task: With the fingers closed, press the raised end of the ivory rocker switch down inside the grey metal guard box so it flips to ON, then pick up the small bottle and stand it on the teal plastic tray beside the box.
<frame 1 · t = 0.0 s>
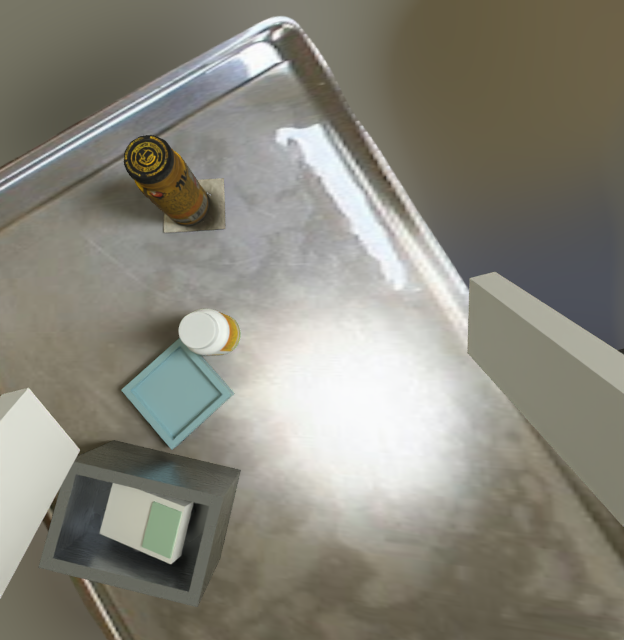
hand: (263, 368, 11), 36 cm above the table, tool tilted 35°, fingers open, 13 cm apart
rocker: (146, 517, 40), point 5 cm above the table, hinge at 13.0°
supplement bottle: (221, 334, 47), on the table
tray: (181, 391, 46), on the table
guard box: (166, 498, 45), on the table
condiment: (195, 206, 49), on the table
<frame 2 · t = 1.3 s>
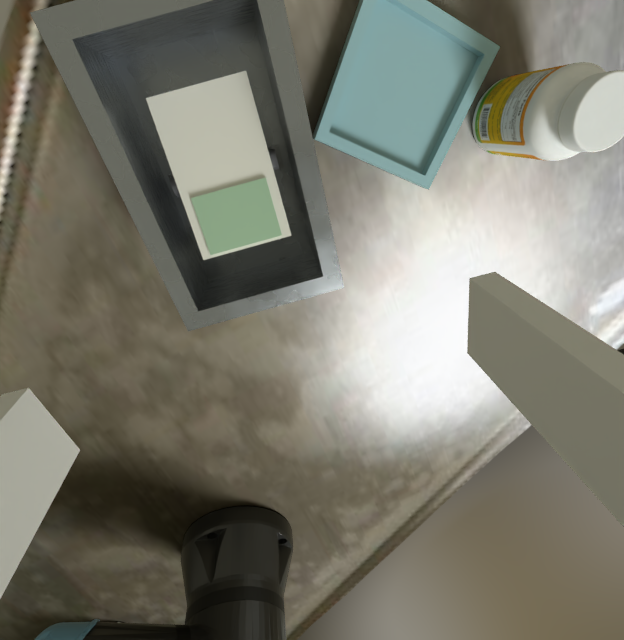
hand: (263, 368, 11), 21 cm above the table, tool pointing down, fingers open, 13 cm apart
rocker: (225, 172, 22), point 5 cm above the table, hinge at 13.0°
supplement bottle: (501, 117, 28), on the table
tray: (397, 95, 26), on the table
guard box: (230, 165, 27), on the table
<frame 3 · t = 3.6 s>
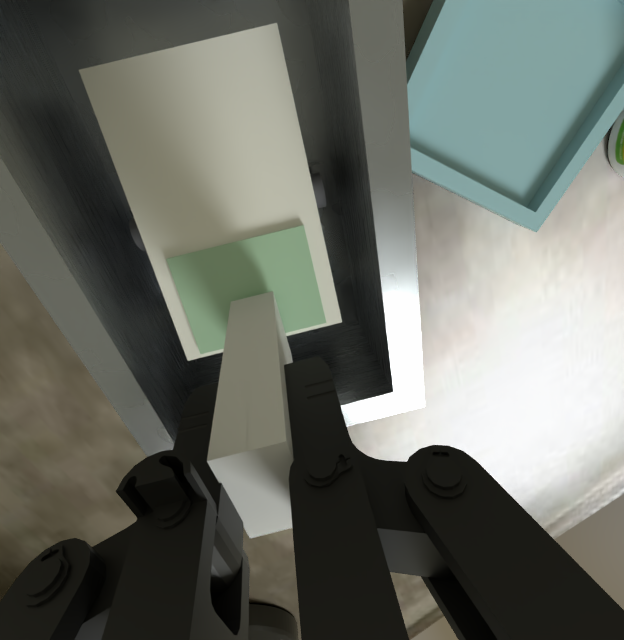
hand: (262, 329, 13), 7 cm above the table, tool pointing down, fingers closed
rocker: (230, 212, 13), point 5 cm above the table, hinge at 12.8°, touching gripper
tray: (506, 87, 17), on the table
guard box: (237, 188, 17), on the table
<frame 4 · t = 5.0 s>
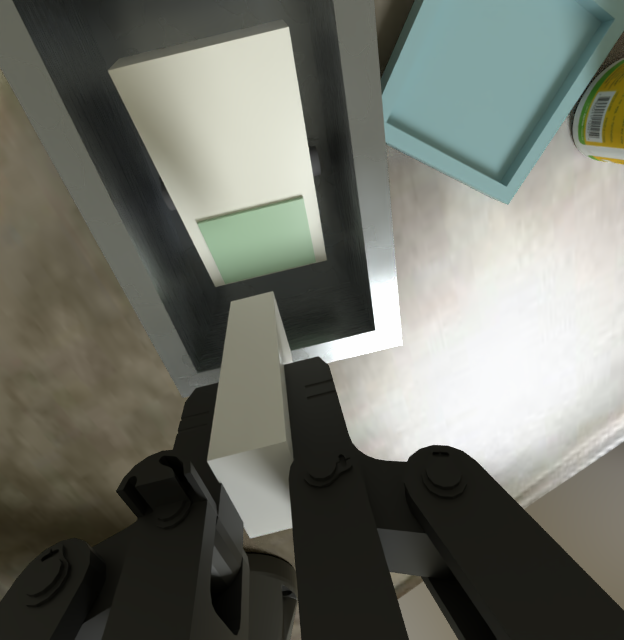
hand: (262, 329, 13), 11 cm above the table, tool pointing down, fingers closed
rocker: (242, 179, 15), point 5 cm above the table, hinge at -15.8°
supplement bottle: (611, 110, 21), on the table
tray: (480, 75, 19), on the table
guard box: (246, 163, 20), on the table
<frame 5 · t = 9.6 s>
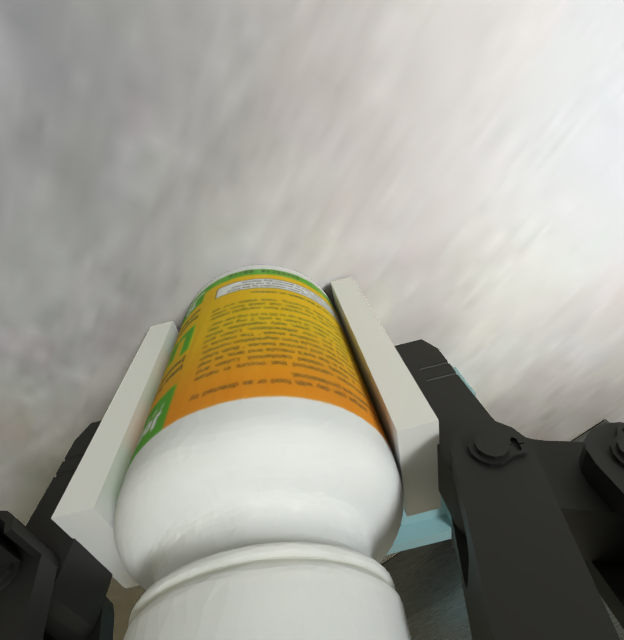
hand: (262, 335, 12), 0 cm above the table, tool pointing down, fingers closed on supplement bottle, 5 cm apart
supplement bottle: (263, 329, 13), on the table, touching gripper
tray: (354, 471, 17), on the table
guard box: (515, 536, 22), on the table
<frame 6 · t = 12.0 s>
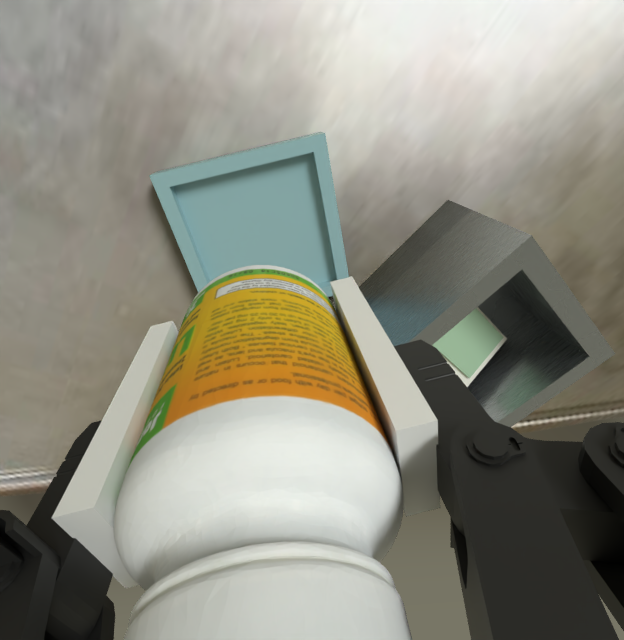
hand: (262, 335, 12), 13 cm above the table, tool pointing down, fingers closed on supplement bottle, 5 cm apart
rocker: (431, 366, 24), point 5 cm above the table, hinge at -15.4°
supplement bottle: (263, 329, 13), point 12 cm above the table, touching gripper
tray: (261, 233, 23), on the table
guard box: (403, 327, 29), on the table
when the fingers open (2 cm above the table, at t = 14.0 s): supplement bottle drops 1 cm, resting on tray.
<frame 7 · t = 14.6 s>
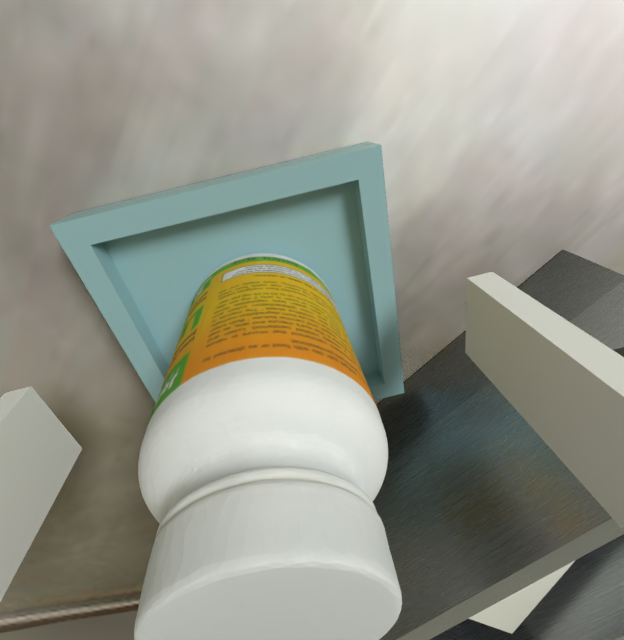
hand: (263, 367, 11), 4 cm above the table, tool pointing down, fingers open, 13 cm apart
rocker: (535, 517, 15), point 5 cm above the table, hinge at -15.4°
supplement bottle: (264, 314, 14), point 1 cm above the table, touching tray
tray: (262, 306, 14), on the table
guard box: (470, 424, 20), on the table
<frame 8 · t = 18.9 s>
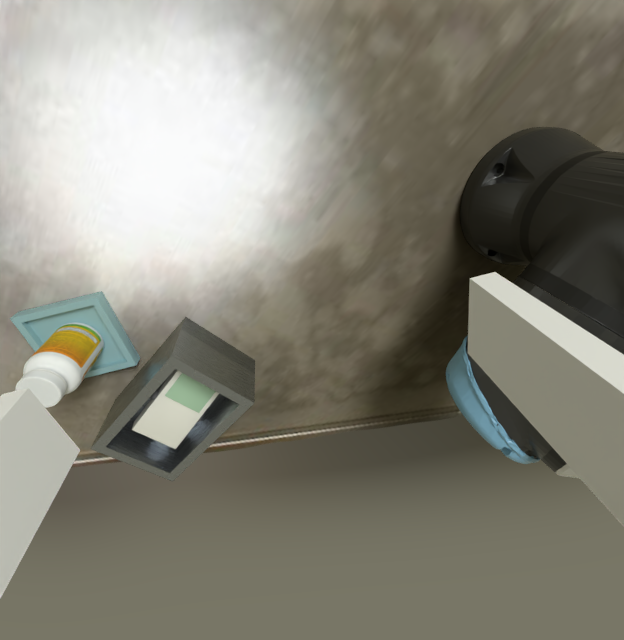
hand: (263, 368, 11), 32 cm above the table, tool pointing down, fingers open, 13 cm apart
rocker: (177, 406, 44), point 5 cm above the table, hinge at -15.4°
supplement bottle: (81, 339, 43), point 1 cm above the table, touching tray
tray: (82, 336, 44), on the table
guard box: (185, 380, 49), on the table
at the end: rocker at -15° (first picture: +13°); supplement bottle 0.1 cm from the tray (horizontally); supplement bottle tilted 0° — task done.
